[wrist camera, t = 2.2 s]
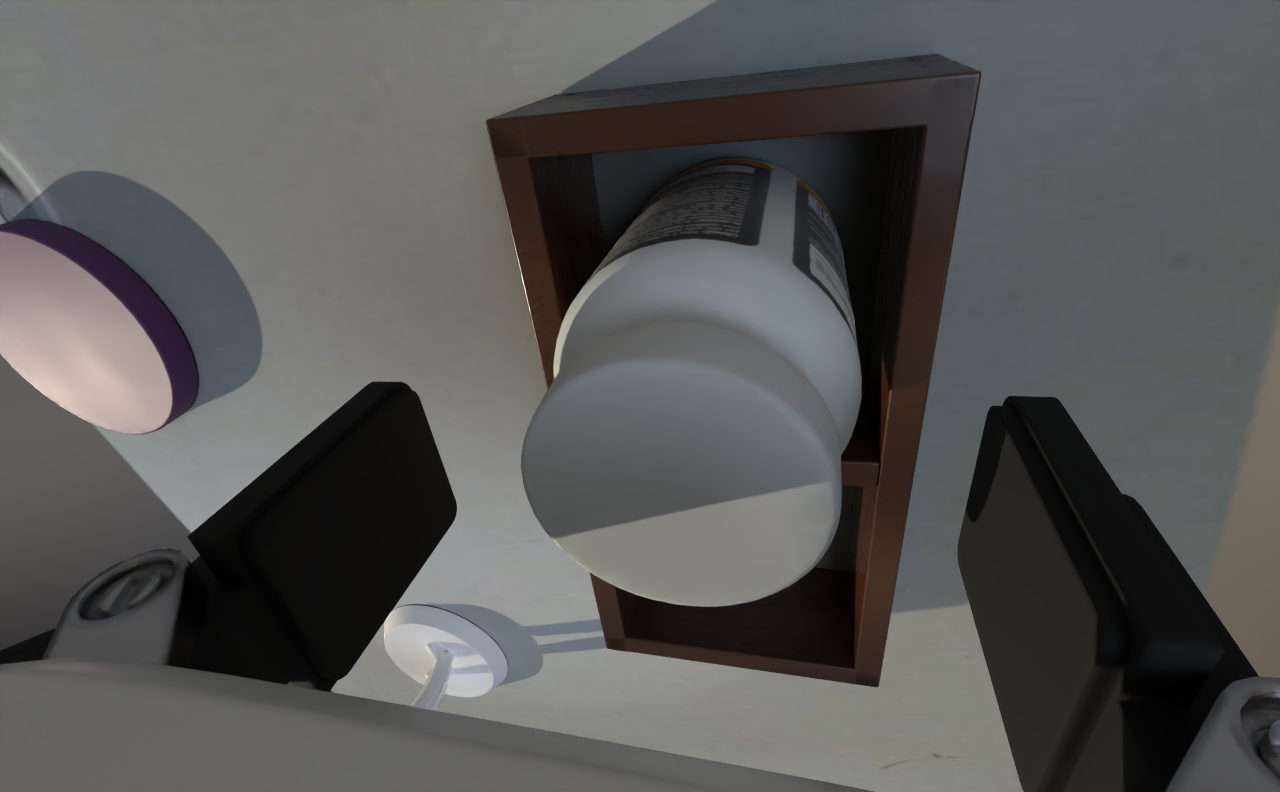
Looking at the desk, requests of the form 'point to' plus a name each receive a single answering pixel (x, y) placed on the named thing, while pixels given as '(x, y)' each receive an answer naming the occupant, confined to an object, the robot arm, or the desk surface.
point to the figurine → (442, 654)
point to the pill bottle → (703, 394)
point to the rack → (901, 338)
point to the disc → (90, 331)
